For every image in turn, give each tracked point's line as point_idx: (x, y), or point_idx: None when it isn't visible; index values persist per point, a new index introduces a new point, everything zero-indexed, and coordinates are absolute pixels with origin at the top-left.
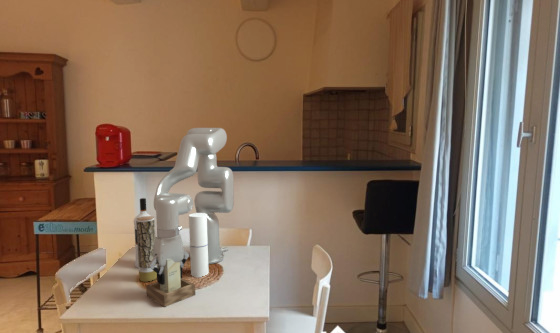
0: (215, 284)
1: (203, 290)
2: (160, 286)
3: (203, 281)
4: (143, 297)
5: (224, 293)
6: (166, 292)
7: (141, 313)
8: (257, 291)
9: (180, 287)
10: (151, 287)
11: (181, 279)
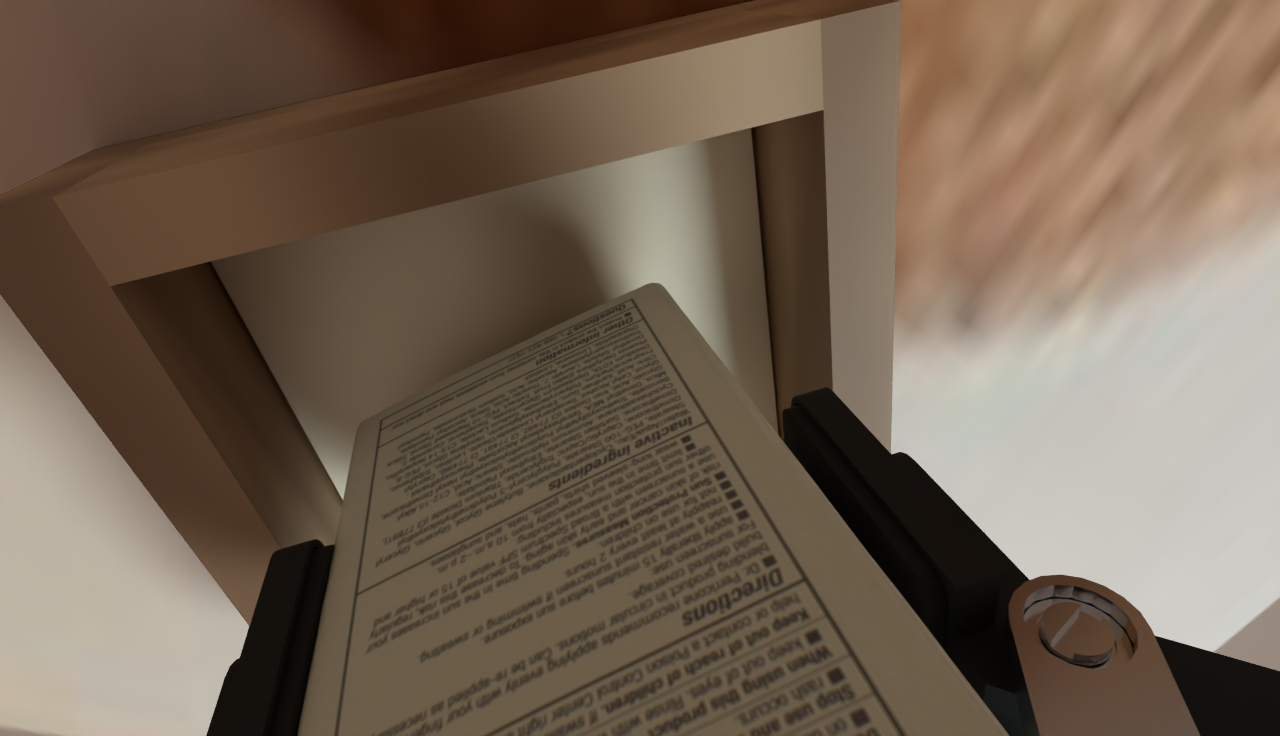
0: (1156, 321)
1: (951, 412)
2: (351, 485)
3: (1159, 123)
4: (18, 172)
5: (1031, 563)
6: (482, 357)
7: (31, 674)
8: (1203, 623)
9: (755, 282)
10: (130, 411)
11: (854, 318)
